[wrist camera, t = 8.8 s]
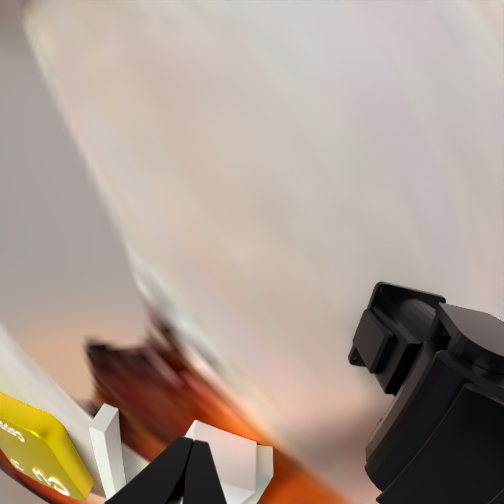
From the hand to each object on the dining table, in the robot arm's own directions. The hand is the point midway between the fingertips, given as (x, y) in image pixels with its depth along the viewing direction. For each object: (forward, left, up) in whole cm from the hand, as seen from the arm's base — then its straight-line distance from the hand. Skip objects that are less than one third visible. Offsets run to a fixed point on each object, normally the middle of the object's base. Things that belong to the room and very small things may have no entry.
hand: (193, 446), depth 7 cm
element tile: (+22, +29, -14) cm, 39 cm away
